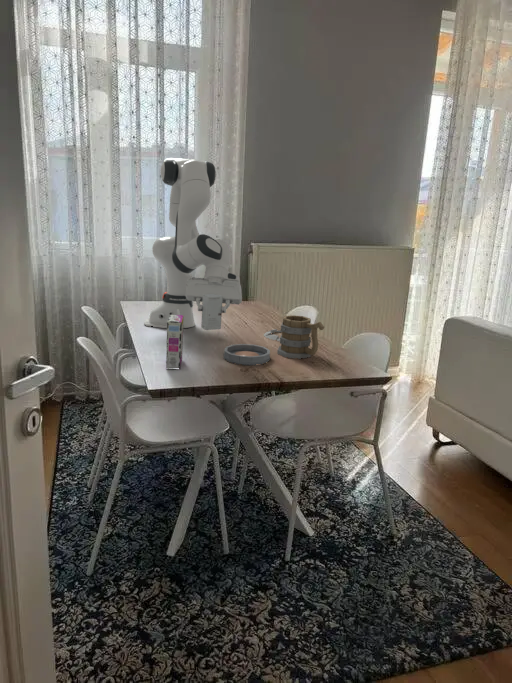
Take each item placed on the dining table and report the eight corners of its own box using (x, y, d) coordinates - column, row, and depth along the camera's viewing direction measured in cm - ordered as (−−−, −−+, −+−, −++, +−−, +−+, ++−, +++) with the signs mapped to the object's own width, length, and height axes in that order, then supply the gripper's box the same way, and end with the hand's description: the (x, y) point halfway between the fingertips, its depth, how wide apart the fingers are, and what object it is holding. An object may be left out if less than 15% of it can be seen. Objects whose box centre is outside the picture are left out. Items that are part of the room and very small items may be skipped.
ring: (275, 344, 211) (276, 339, 210) (256, 332, 228) (256, 328, 227) (316, 342, 219) (317, 337, 218) (295, 330, 236) (295, 326, 235)
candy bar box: (181, 370, 172) (181, 322, 167) (165, 369, 171) (166, 321, 167) (183, 359, 183) (184, 314, 178) (168, 359, 182) (169, 314, 178)
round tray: (221, 363, 181) (221, 355, 180) (225, 350, 197) (226, 342, 196) (269, 366, 180) (270, 358, 180) (270, 353, 197) (270, 345, 196)
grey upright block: (206, 330, 181) (208, 296, 178) (200, 327, 185) (201, 294, 181) (221, 329, 185) (223, 295, 181) (215, 326, 188) (217, 293, 185)
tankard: (271, 351, 199) (273, 313, 195) (296, 347, 207) (298, 311, 203) (305, 366, 184) (309, 325, 180) (331, 361, 191) (335, 322, 187)
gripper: (187, 272, 186) (181, 304, 180) (243, 276, 186) (240, 308, 179) (188, 282, 192) (183, 313, 185) (243, 286, 192) (240, 318, 185)
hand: (211, 311), depth 182 cm, fingers closed on grey upright block, 7 cm apart
